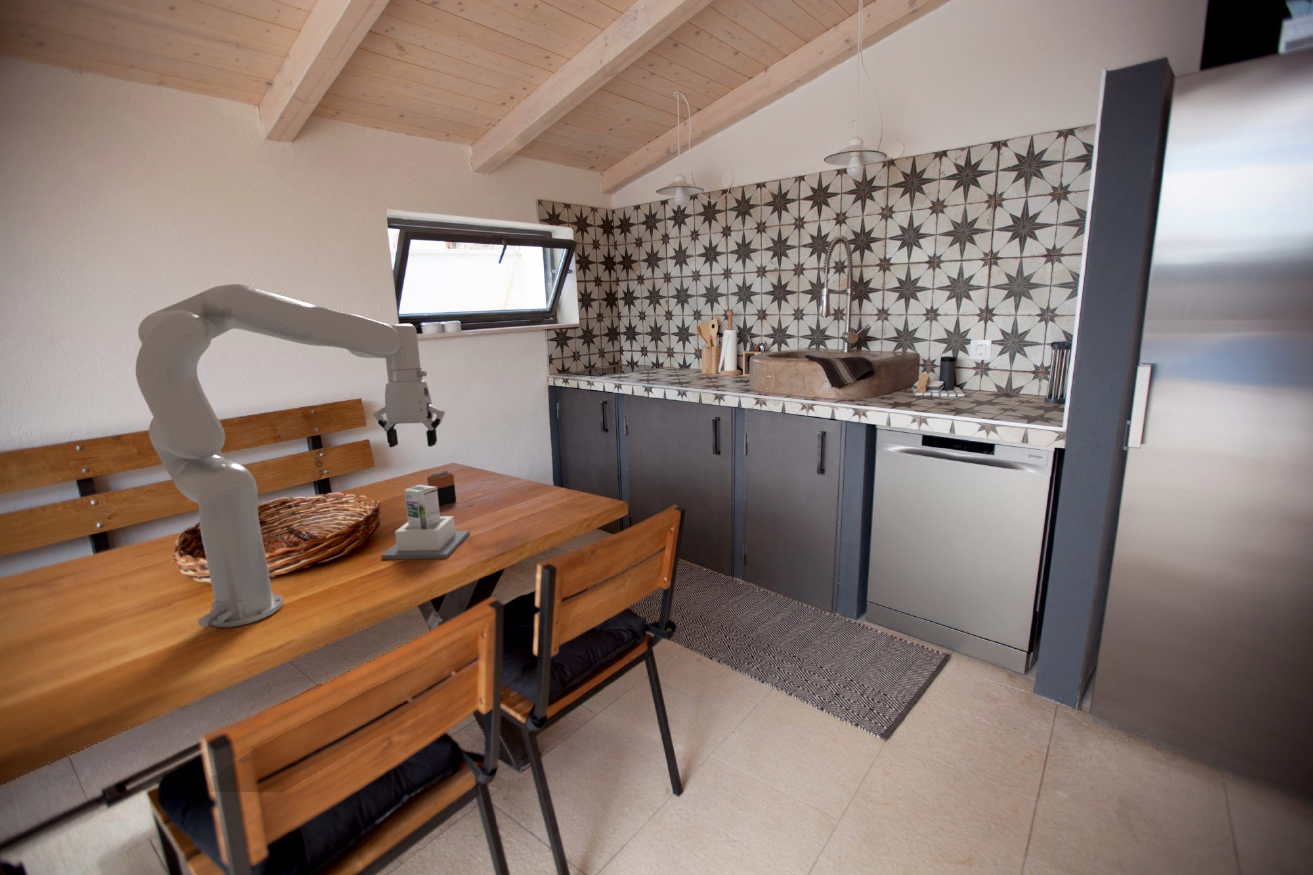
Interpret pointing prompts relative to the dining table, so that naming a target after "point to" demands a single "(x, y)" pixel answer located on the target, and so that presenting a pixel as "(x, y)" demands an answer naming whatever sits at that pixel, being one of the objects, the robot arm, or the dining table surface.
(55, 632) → the dining table surface
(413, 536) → the socket
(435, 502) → the syrup box
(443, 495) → the battery
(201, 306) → the robot arm
